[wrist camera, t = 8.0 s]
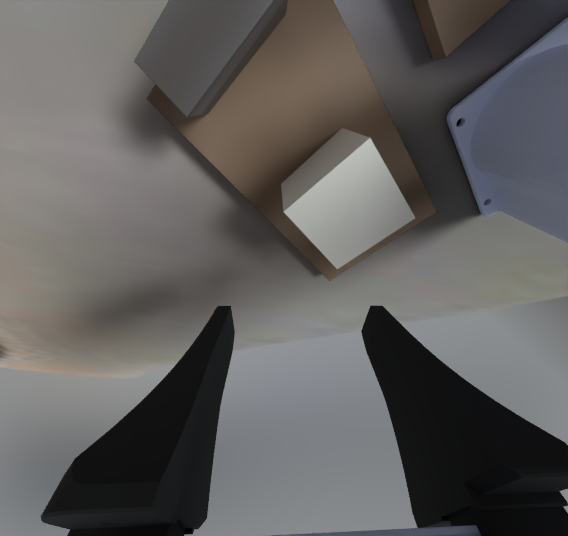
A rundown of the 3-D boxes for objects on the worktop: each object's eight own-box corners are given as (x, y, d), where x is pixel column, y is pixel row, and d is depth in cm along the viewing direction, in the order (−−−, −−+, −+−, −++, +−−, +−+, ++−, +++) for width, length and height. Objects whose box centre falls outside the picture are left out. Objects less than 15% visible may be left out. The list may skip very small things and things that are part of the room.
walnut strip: (428, 205, 18) (474, 236, 14) (326, 273, 22) (339, 313, 18) (278, -89, 10) (282, -230, 6) (155, 98, 14) (102, 96, 9)
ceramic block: (380, 189, 16) (415, 218, 12) (323, 232, 18) (337, 269, 14) (342, 127, 14) (370, 137, 10) (281, 183, 16) (283, 211, 12)
